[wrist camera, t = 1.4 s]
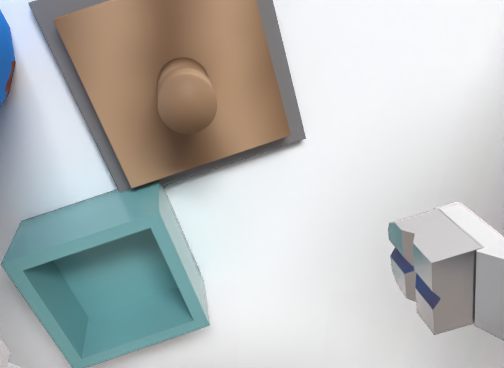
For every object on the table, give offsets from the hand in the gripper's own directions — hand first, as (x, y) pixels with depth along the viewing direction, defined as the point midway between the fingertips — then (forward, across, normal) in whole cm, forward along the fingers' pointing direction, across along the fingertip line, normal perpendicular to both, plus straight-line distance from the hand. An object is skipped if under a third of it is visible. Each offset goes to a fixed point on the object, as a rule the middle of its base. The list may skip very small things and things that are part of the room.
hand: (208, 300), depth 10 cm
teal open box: (+20, +6, +11) cm, 24 cm away
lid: (+19, -1, 0) cm, 19 cm away
